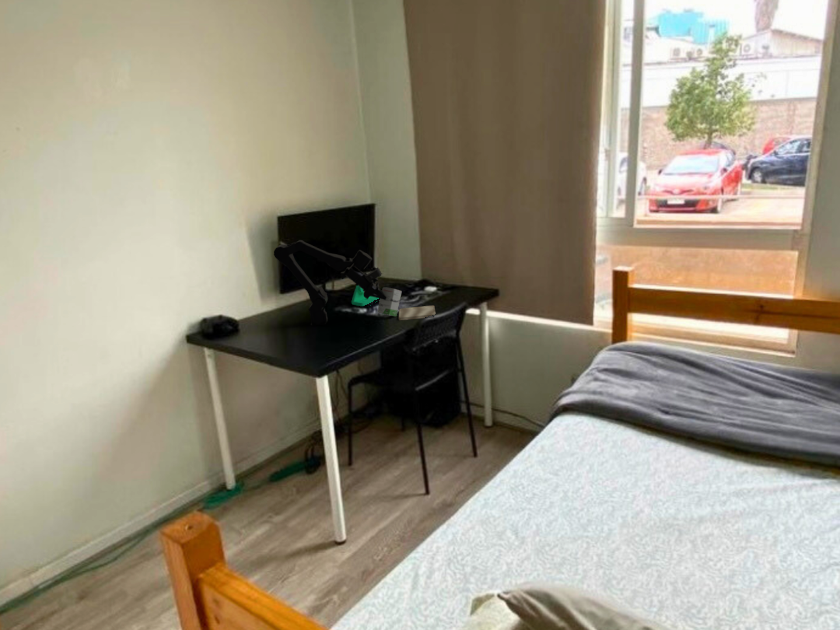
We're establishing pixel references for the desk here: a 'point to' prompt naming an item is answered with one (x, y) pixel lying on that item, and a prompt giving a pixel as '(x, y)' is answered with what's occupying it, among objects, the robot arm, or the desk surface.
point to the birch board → (416, 312)
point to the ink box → (389, 302)
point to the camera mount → (361, 297)
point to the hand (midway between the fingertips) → (386, 298)
